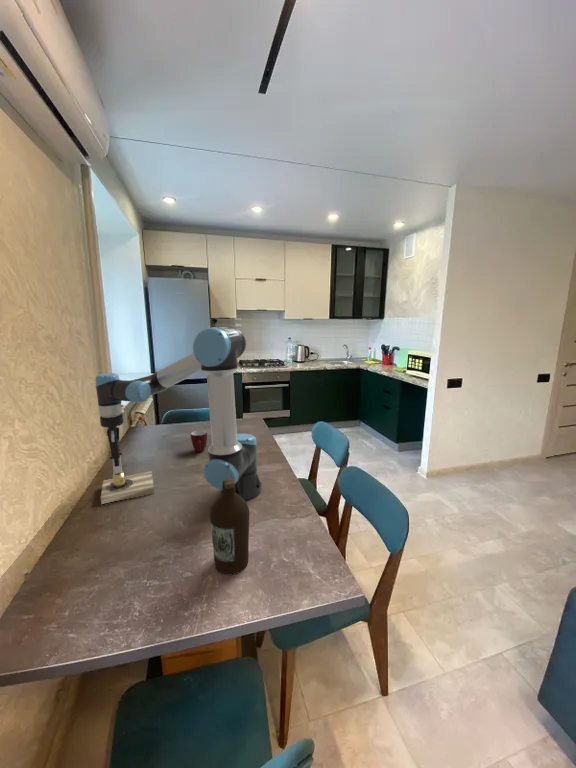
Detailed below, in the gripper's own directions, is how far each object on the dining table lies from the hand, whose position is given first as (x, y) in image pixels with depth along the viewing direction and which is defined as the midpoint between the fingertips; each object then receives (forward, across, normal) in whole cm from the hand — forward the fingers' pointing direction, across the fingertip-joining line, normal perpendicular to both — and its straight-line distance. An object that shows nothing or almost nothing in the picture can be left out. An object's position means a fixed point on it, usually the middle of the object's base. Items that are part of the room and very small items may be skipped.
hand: (118, 472), depth 122 cm
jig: (+8, 0, -3) cm, 9 cm away
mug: (+9, +25, -36) cm, 45 cm away
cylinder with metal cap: (+8, 0, 0) cm, 8 cm away
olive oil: (+9, -55, -29) cm, 63 cm away
